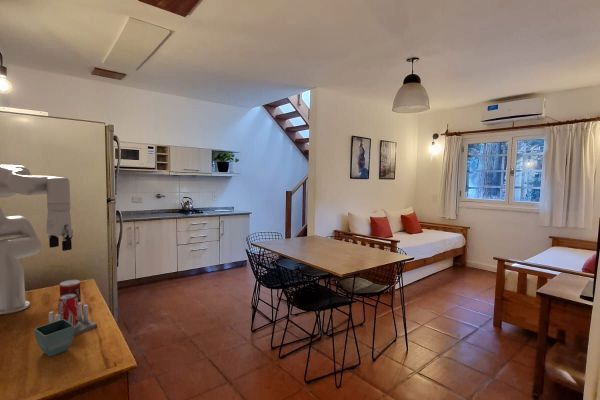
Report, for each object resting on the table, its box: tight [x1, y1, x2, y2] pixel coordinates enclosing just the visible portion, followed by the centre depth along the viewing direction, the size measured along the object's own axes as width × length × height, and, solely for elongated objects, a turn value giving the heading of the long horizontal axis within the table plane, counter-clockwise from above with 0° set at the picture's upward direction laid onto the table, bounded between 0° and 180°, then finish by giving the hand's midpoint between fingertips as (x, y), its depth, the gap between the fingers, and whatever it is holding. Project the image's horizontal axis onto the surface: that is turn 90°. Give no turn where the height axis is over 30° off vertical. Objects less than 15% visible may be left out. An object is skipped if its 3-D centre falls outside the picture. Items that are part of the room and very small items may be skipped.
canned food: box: [59, 279, 82, 303], centre depth 146 cm, size 8×8×11 cm
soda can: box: [57, 294, 78, 326], centre depth 125 cm, size 6×6×12 cm
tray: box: [39, 302, 98, 337], centre depth 125 cm, size 16×13×8 cm
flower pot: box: [33, 319, 74, 357], centre depth 109 cm, size 9×9×9 cm
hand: (60, 248), depth 130 cm, fingers open, 9 cm apart
